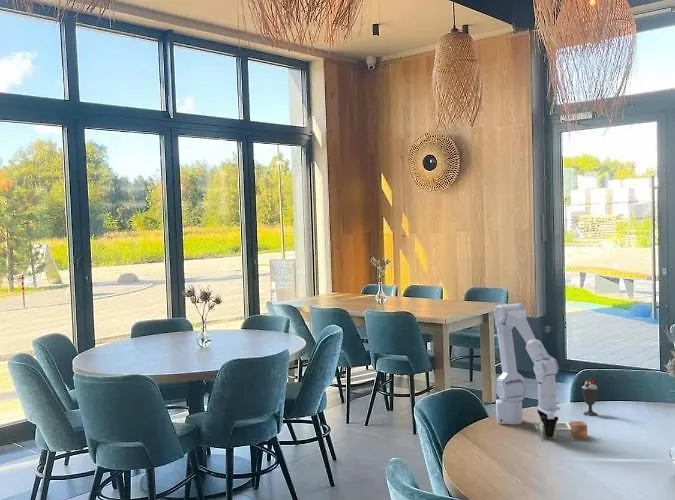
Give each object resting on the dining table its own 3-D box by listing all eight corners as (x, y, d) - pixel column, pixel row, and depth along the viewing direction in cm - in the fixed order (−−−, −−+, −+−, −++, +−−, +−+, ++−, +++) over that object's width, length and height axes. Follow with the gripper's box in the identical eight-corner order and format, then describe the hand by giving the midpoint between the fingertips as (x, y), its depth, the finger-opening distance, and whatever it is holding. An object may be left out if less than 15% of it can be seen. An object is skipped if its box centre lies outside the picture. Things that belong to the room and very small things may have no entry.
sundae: (601, 416, 244) (600, 376, 243) (582, 416, 245) (581, 376, 244) (598, 411, 250) (597, 372, 250) (579, 411, 251) (578, 372, 251)
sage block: (542, 438, 220) (541, 425, 220) (540, 434, 225) (539, 421, 224) (556, 438, 219) (555, 425, 219) (553, 434, 224) (553, 421, 224)
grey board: (541, 443, 218) (541, 439, 218) (532, 425, 237) (532, 421, 237) (591, 444, 215) (591, 439, 215) (579, 425, 235) (578, 421, 235)
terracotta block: (573, 438, 219) (572, 425, 218) (570, 434, 223) (570, 421, 223) (587, 438, 218) (587, 425, 218) (584, 434, 222) (584, 421, 222)
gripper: (563, 400, 214) (564, 441, 214) (555, 388, 228) (556, 427, 229) (540, 400, 215) (542, 440, 215) (534, 388, 229) (535, 427, 230)
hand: (548, 434), depth 222 cm, fingers open, 5 cm apart
